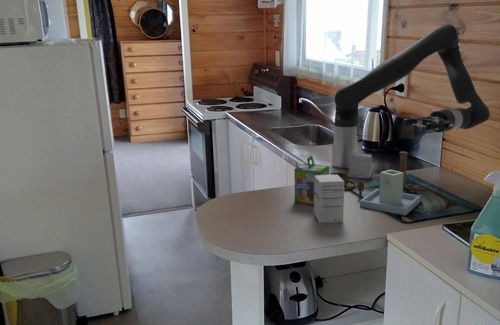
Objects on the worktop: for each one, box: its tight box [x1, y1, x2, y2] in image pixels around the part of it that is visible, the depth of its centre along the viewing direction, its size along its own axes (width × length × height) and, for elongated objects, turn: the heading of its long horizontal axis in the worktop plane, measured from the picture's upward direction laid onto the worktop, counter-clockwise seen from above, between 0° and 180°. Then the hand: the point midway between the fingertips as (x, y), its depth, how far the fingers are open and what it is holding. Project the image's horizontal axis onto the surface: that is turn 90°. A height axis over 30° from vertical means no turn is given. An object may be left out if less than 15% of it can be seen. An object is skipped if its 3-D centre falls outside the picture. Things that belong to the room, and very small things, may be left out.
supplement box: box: [313, 175, 345, 224], centre depth 139 cm, size 7×7×13 cm
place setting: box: [329, 171, 365, 199], centre depth 167 cm, size 18×20×6 cm
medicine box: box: [348, 153, 373, 180], centre depth 182 cm, size 8×4×9 cm, turn 65°
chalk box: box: [294, 155, 330, 206], centre depth 155 cm, size 9×9×15 cm
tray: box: [359, 188, 422, 216], centre depth 151 cm, size 15×15×2 cm
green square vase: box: [379, 169, 404, 206], centre depth 150 cm, size 5×6×10 cm
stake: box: [398, 151, 409, 189], centre depth 167 cm, size 2×2×13 cm
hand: (415, 124), depth 151 cm, fingers open, 8 cm apart
